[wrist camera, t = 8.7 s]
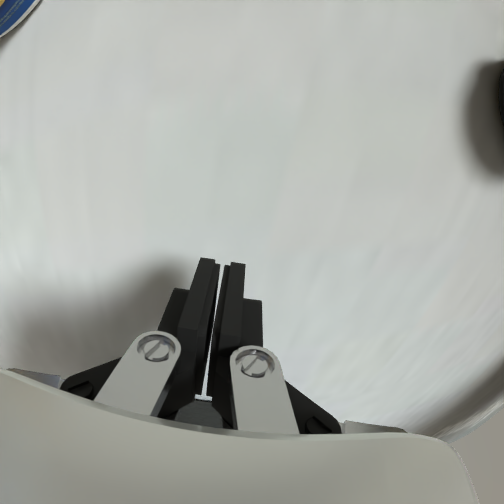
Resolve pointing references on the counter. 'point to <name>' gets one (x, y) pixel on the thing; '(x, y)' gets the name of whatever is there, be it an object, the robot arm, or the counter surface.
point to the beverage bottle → (14, 13)
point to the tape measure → (501, 95)
